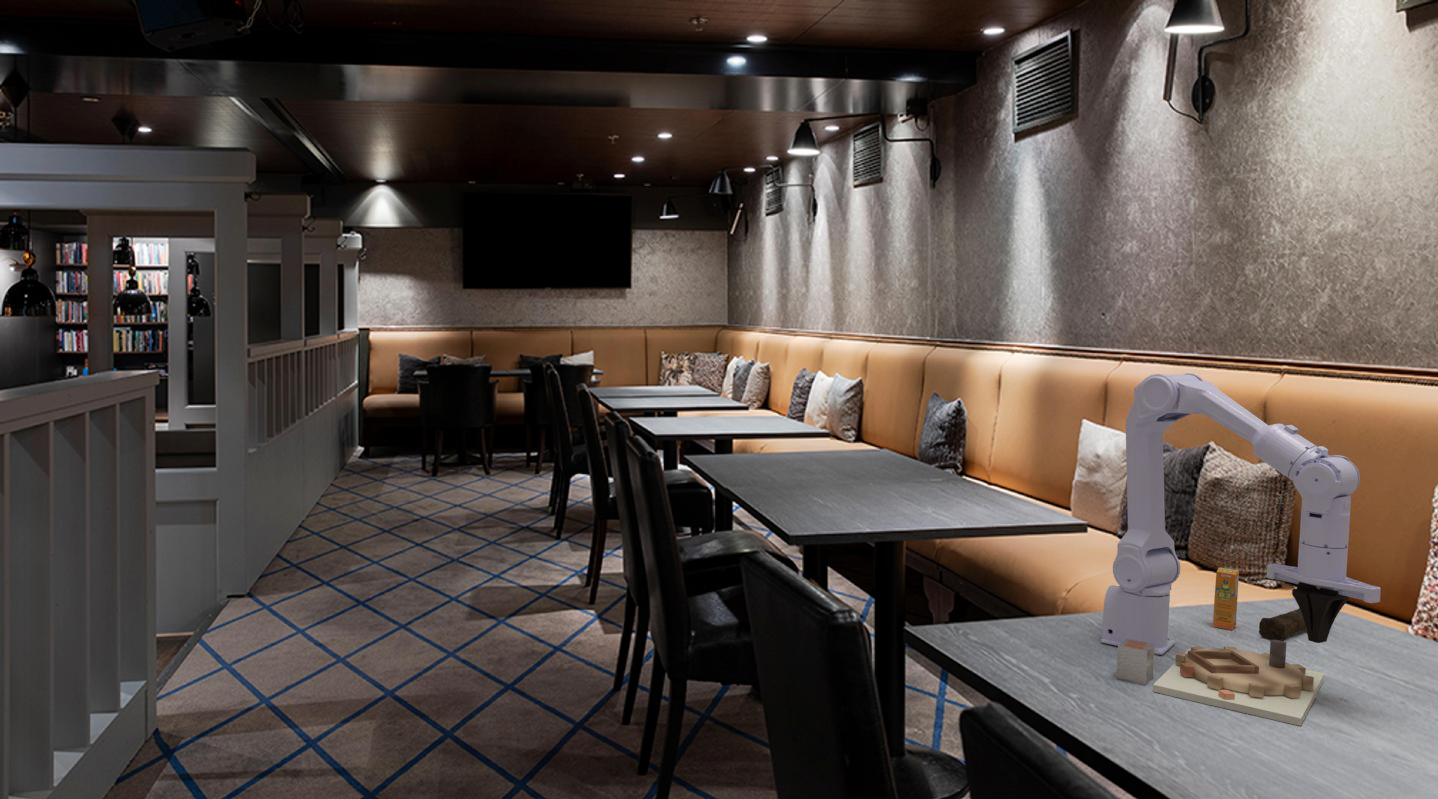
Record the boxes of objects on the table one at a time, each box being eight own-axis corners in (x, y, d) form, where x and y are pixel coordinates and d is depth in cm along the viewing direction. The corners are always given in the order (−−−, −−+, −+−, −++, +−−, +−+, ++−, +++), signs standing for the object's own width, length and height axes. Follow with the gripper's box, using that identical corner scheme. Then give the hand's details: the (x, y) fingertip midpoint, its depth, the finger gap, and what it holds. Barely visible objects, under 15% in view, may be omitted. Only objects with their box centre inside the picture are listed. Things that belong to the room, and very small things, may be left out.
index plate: (1152, 691, 136) (1153, 679, 136) (1190, 652, 153) (1191, 641, 153) (1300, 726, 125) (1301, 712, 125) (1324, 679, 142) (1325, 667, 142)
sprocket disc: (1266, 656, 149) (1268, 624, 148) (1340, 698, 132) (1343, 662, 131) (1154, 655, 148) (1156, 623, 148) (1214, 697, 131) (1216, 661, 131)
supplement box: (1211, 627, 167) (1214, 570, 167) (1215, 622, 170) (1218, 566, 169) (1233, 631, 165) (1236, 573, 164) (1236, 626, 168) (1240, 569, 167)
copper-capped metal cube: (1116, 679, 141) (1118, 643, 141) (1124, 671, 144) (1126, 636, 144) (1145, 685, 139) (1147, 649, 138) (1153, 678, 142) (1154, 642, 141)
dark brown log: (1281, 645, 159) (1283, 617, 159) (1257, 638, 162) (1259, 611, 162) (1338, 628, 169) (1340, 602, 169) (1314, 622, 173) (1316, 596, 172)
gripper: (1396, 552, 129) (1389, 652, 130) (1290, 531, 142) (1285, 623, 143) (1364, 557, 126) (1358, 660, 127) (1259, 535, 139) (1254, 628, 140)
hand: (1317, 641), depth 135 cm, fingers closed
